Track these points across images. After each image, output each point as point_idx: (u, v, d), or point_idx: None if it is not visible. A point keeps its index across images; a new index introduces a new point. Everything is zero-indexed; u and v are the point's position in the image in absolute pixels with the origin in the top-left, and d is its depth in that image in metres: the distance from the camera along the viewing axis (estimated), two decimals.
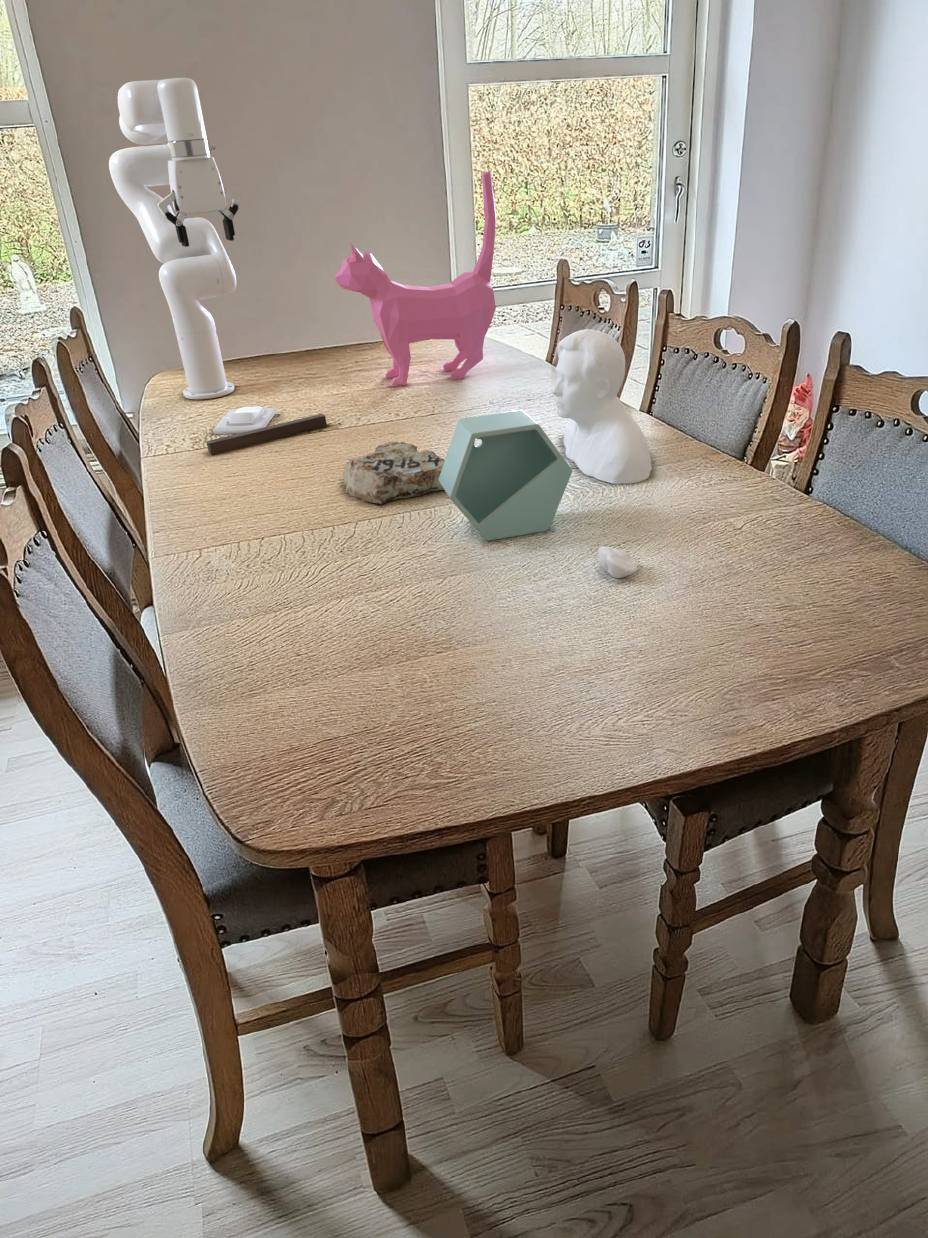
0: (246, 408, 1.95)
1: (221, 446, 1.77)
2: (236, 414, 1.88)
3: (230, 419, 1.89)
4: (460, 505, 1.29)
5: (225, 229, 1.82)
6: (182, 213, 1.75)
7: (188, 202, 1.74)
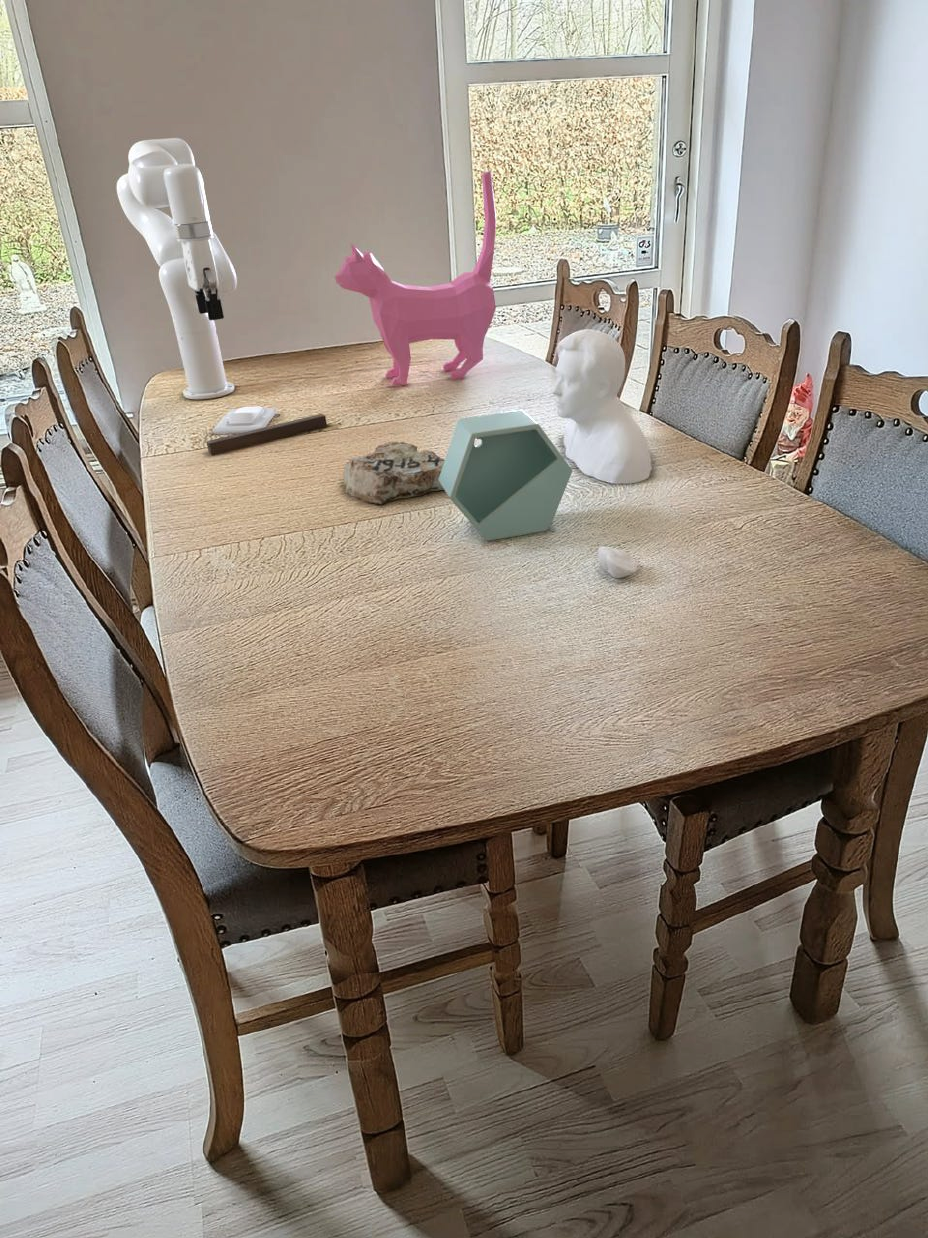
0: (246, 408, 1.95)
1: (221, 446, 1.77)
2: (236, 414, 1.88)
3: (230, 419, 1.89)
4: (460, 505, 1.29)
5: (202, 303, 1.93)
6: (217, 287, 1.85)
7: None
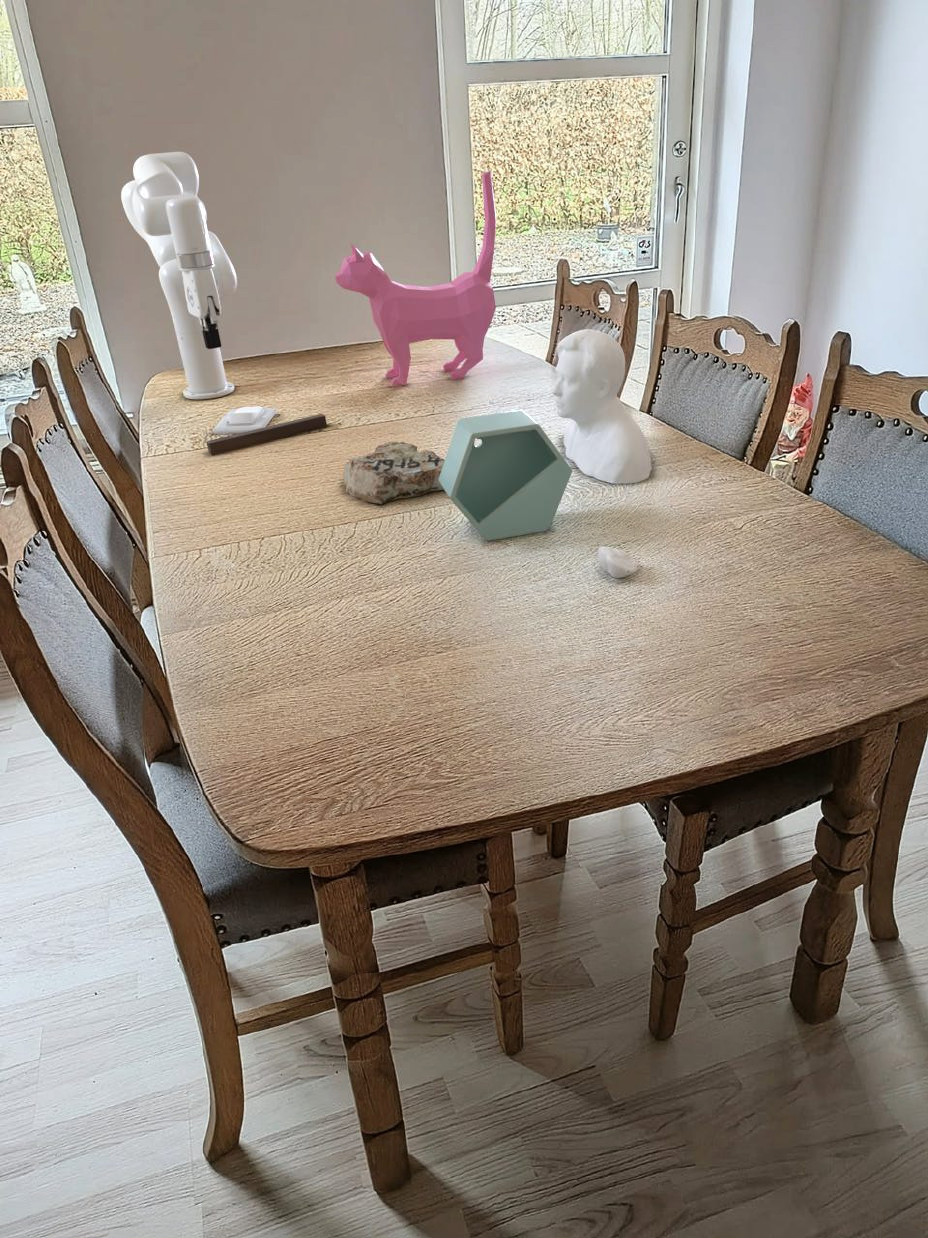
0: (246, 408, 1.95)
1: (221, 446, 1.77)
2: (236, 414, 1.88)
3: (230, 419, 1.89)
4: (460, 505, 1.29)
5: None
6: None
7: None
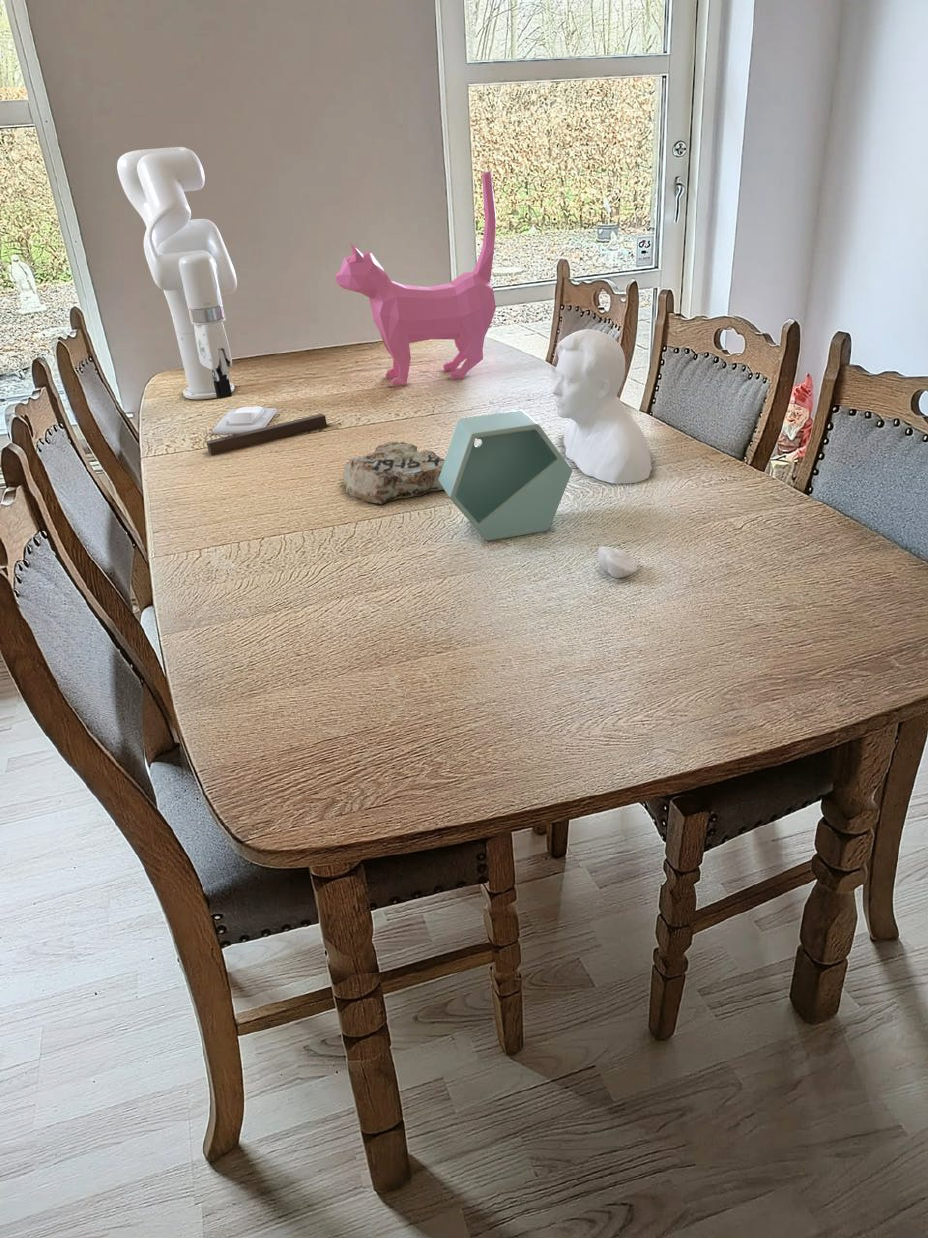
0: (246, 408, 1.95)
1: (221, 446, 1.77)
2: (236, 414, 1.88)
3: (230, 419, 1.89)
4: (460, 505, 1.29)
5: None
6: None
7: None
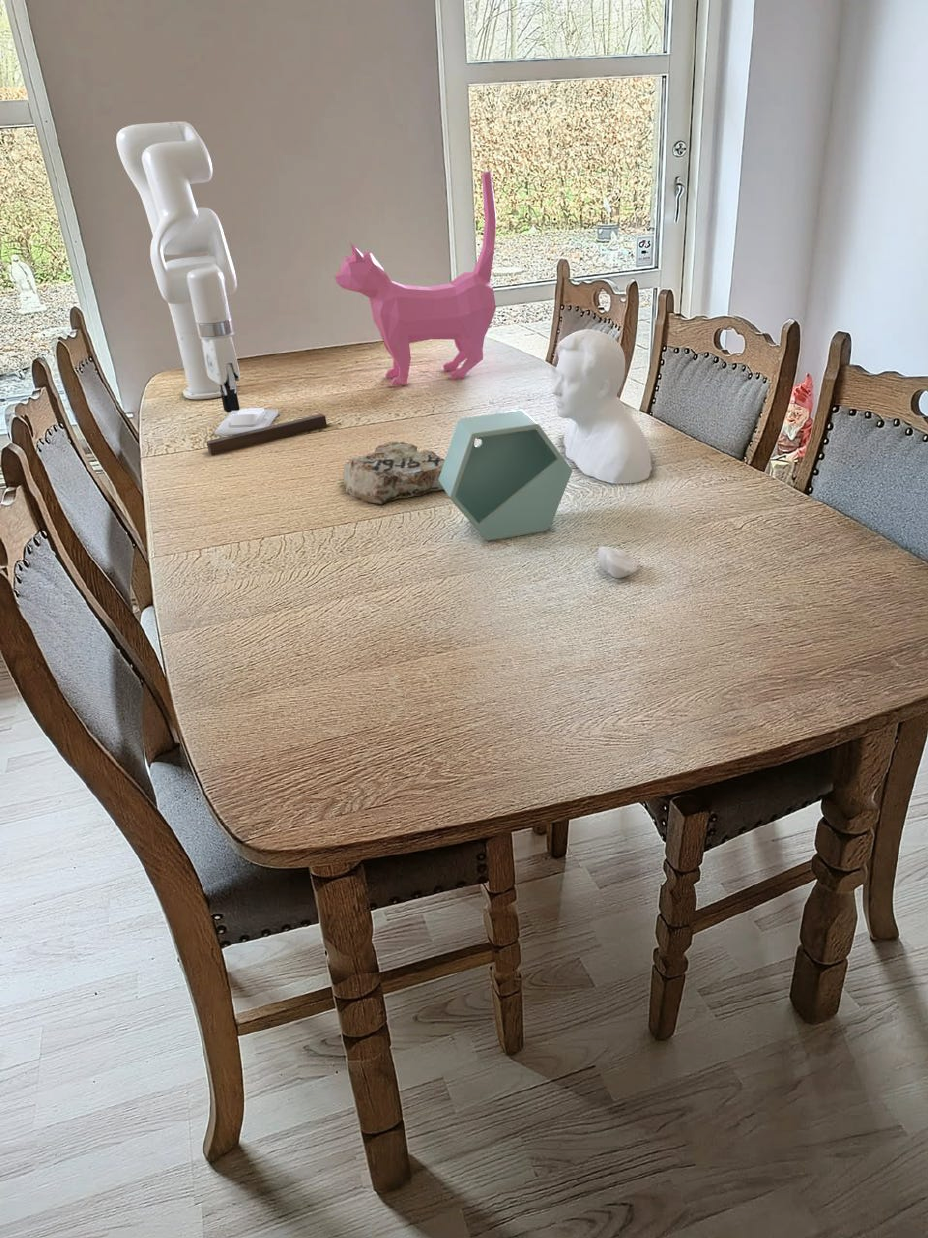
0: (248, 409, 1.94)
1: (221, 446, 1.77)
2: (238, 416, 1.88)
3: (232, 421, 1.88)
4: (460, 505, 1.29)
5: None
6: None
7: None
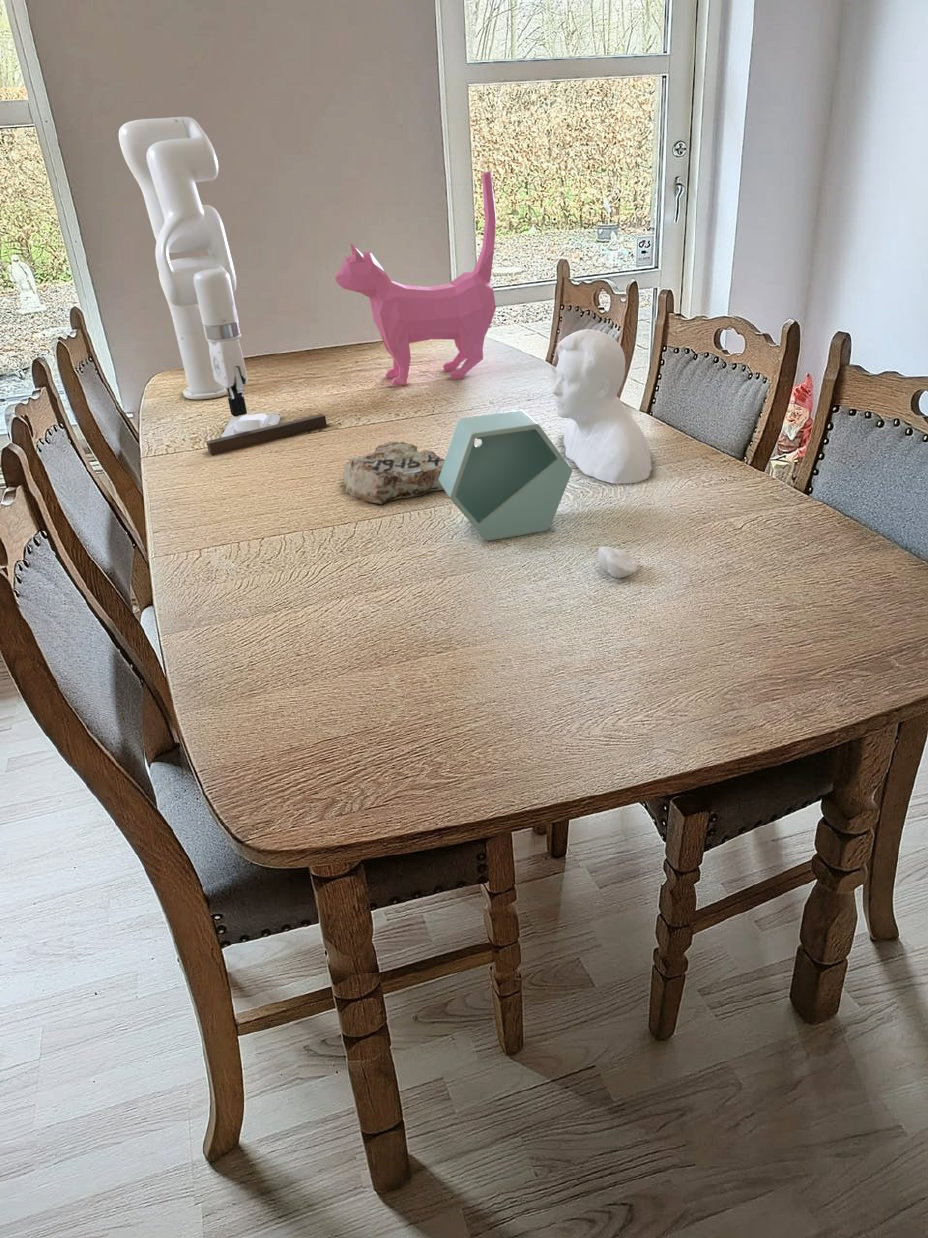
0: (250, 416, 1.92)
1: (221, 446, 1.77)
2: (243, 422, 1.85)
3: (237, 427, 1.85)
4: (460, 505, 1.29)
5: None
6: None
7: None
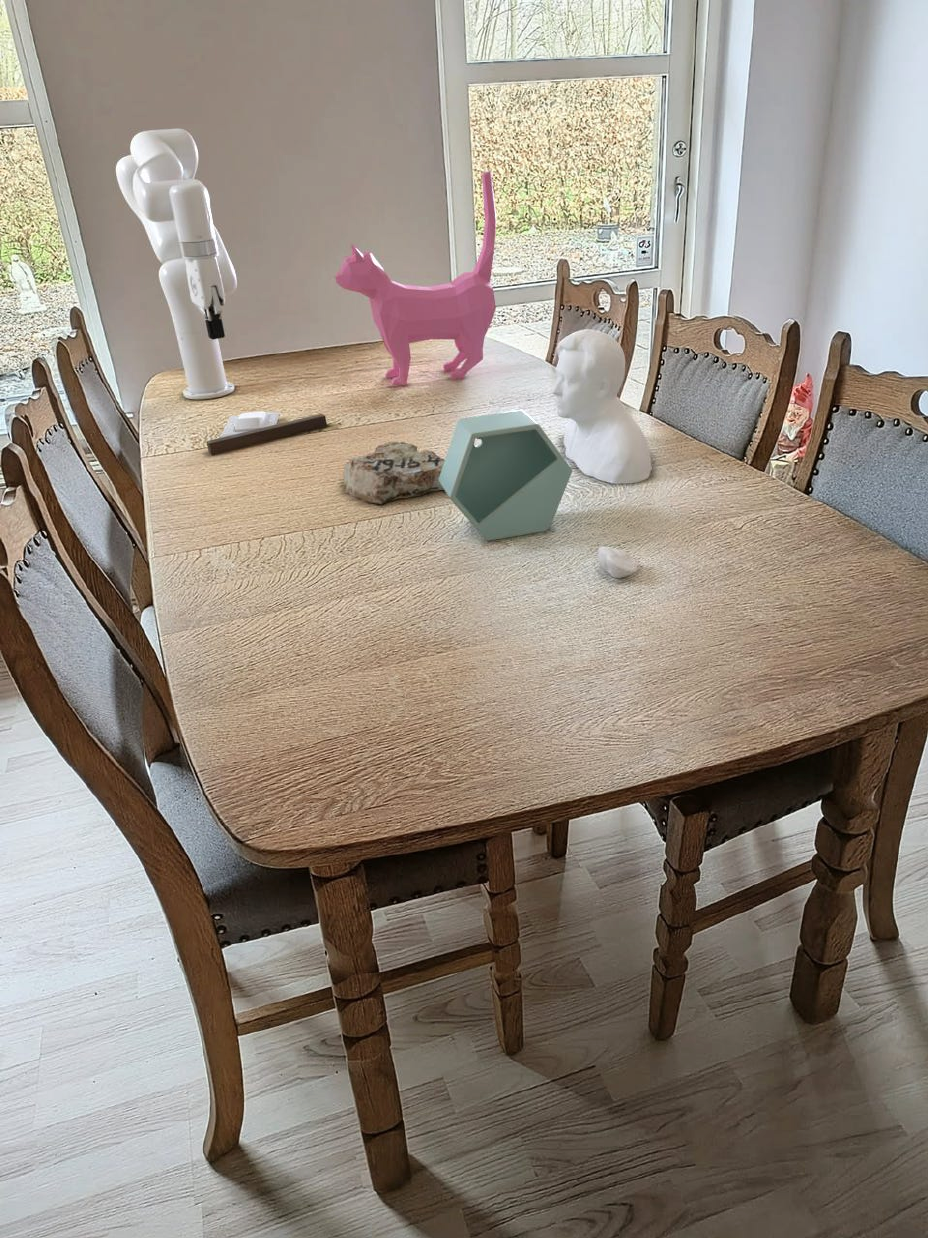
0: (249, 413, 1.91)
1: (221, 446, 1.77)
2: (243, 419, 1.85)
3: (237, 425, 1.85)
4: (460, 505, 1.29)
5: None
6: None
7: None
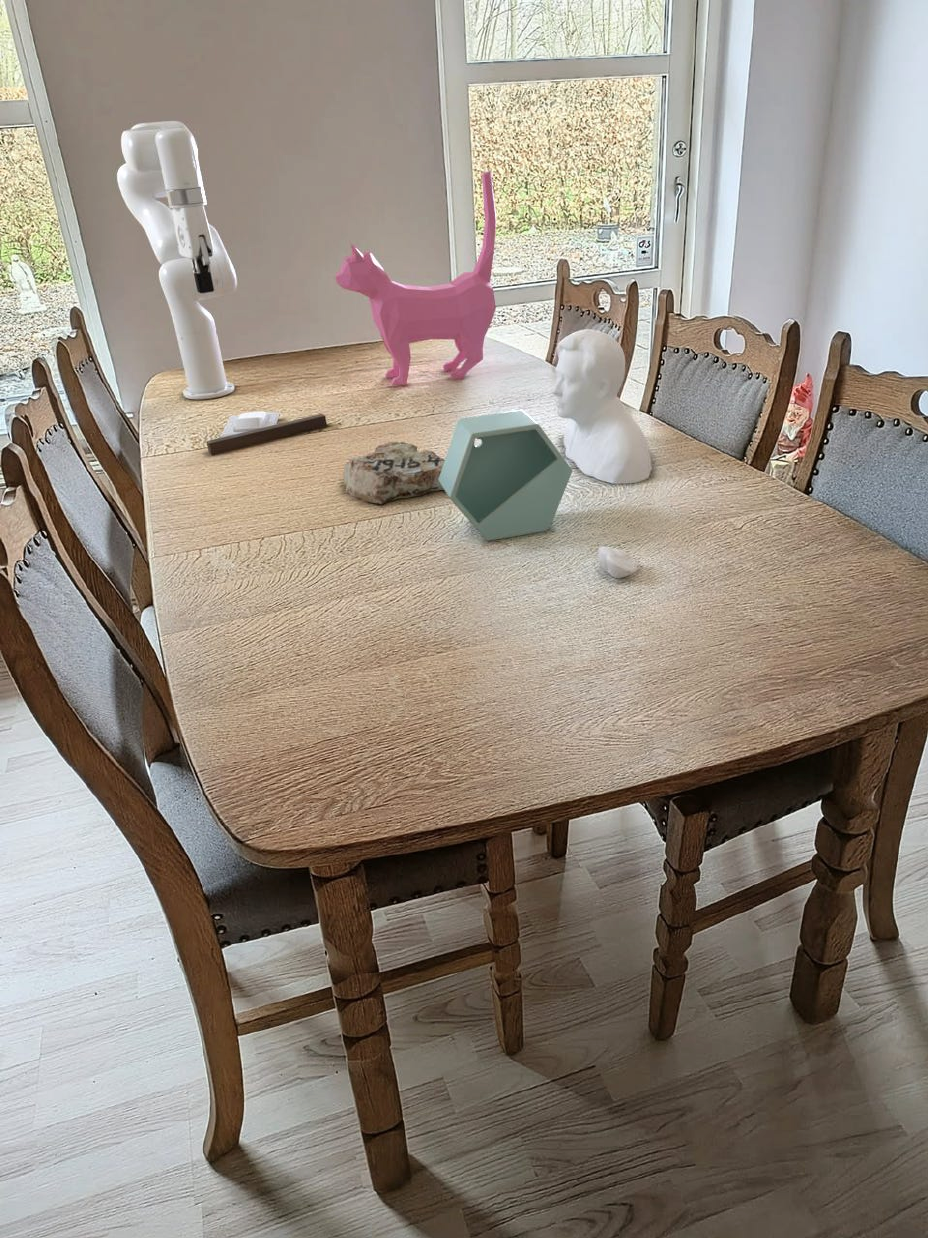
0: (249, 413, 1.91)
1: (221, 446, 1.77)
2: (243, 420, 1.85)
3: (237, 425, 1.85)
4: (460, 505, 1.29)
5: None
6: None
7: None
